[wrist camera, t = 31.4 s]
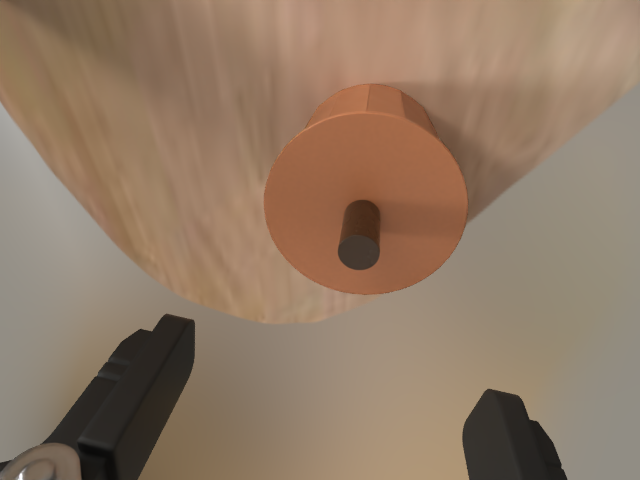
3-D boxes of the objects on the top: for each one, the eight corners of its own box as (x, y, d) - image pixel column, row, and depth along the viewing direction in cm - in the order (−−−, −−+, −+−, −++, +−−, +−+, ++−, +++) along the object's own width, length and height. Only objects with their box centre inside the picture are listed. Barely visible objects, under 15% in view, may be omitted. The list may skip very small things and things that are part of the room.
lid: (259, 264, 31) (236, 313, 26) (279, 87, 24) (252, 109, 19) (427, 302, 31) (436, 358, 26) (499, 134, 23) (529, 168, 19)
